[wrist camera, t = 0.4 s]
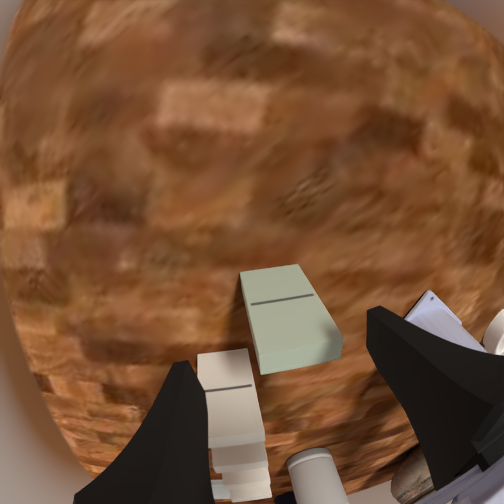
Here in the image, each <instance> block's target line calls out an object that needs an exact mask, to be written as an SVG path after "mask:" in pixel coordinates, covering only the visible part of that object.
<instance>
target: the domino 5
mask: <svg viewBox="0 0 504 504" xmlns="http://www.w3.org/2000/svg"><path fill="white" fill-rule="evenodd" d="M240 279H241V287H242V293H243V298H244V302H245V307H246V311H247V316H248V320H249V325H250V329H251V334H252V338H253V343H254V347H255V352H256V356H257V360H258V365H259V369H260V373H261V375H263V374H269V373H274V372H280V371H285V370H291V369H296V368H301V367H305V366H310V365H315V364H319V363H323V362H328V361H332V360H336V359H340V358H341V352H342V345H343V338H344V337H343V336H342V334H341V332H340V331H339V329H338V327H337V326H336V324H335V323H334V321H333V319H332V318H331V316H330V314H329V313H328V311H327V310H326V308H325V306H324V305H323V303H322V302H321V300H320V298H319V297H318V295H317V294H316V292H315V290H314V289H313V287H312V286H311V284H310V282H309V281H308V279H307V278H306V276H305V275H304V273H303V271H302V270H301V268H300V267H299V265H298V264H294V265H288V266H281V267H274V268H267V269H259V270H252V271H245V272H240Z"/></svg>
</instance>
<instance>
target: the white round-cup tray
mask: <svg viewBox="0 0 504 504" xmlns="http://www.w3.org/2000/svg"><path fill="white" fill-rule="evenodd" d="M483 344H484V345H485V346H484V349H485V350H486V351H487V352H488V353H491V354H496V355H504V309H503V310H502V311H500V312H499V313H498V314H497V315H496V317H495V318H494V319H493V320H492V322H491V323H490V325H489V327H488V328H487V330H486V332H485V335H484V338H483Z"/></svg>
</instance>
